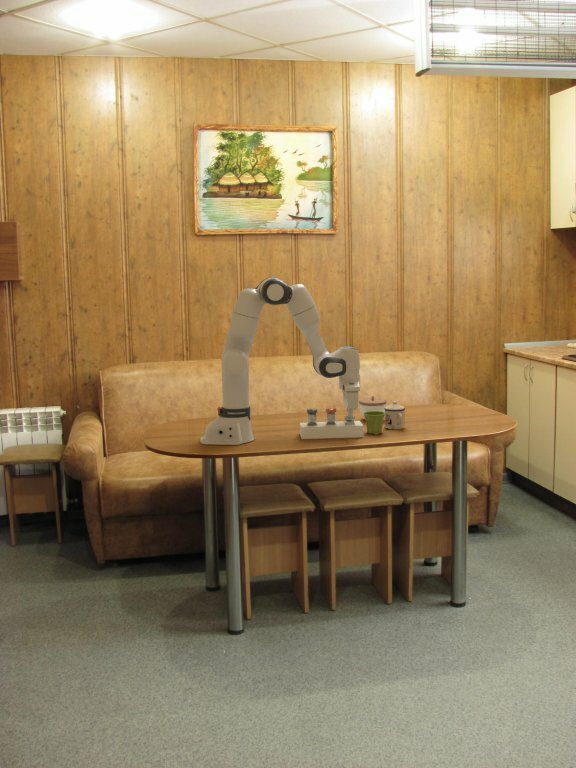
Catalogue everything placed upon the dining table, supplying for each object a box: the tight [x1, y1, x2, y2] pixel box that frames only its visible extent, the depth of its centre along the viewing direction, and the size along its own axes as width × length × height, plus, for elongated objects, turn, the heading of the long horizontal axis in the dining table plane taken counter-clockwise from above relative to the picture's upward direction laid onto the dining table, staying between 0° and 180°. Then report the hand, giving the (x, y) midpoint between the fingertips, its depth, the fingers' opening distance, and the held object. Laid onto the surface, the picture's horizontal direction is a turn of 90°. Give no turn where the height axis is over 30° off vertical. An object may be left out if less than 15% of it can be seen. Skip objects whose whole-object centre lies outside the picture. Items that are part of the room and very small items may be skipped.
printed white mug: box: [384, 401, 406, 430], centre depth 354 cm, size 12×9×12 cm
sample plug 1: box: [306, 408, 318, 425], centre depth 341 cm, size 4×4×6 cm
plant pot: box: [363, 411, 385, 435], centre depth 346 cm, size 9×9×9 cm
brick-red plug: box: [325, 407, 337, 424], centre depth 341 cm, size 4×4×6 cm
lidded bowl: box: [358, 395, 387, 420], centre depth 374 cm, size 13×13×11 cm
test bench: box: [299, 420, 364, 440], centre depth 342 cm, size 26×10×5 cm, turn 93°
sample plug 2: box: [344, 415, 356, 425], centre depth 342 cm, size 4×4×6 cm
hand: (350, 416), depth 342 cm, fingers closed, pressing on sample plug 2
